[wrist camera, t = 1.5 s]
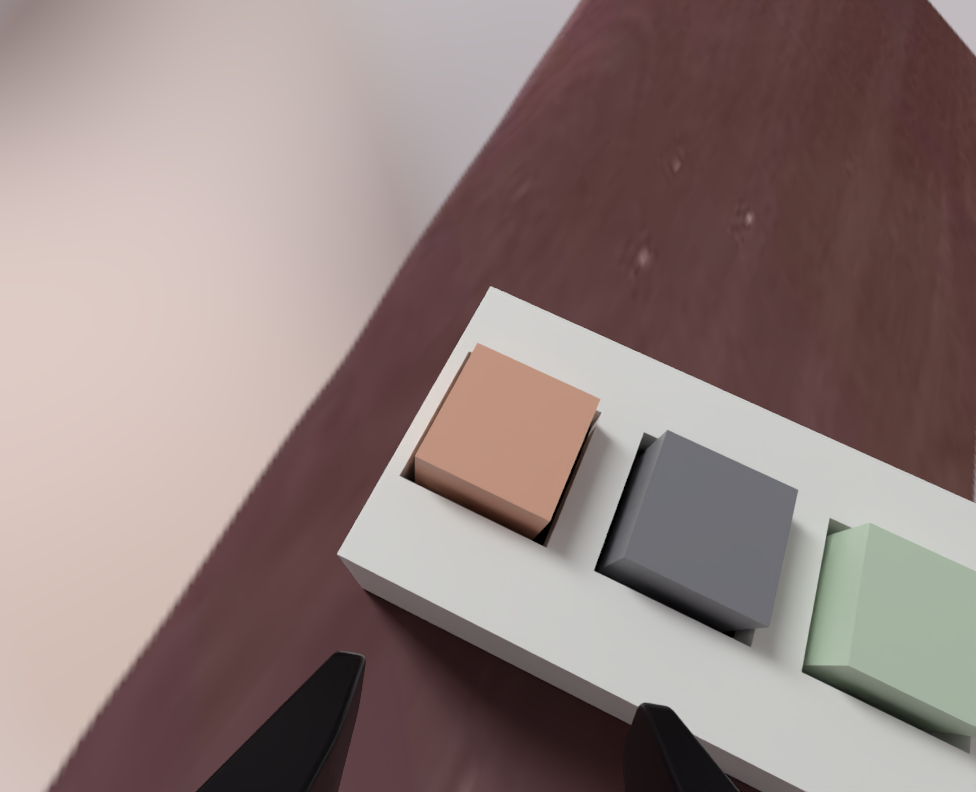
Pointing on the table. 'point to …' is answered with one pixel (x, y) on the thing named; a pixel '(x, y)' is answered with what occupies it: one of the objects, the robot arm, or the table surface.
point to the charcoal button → (701, 535)
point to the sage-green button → (896, 629)
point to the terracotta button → (505, 441)
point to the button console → (639, 619)
